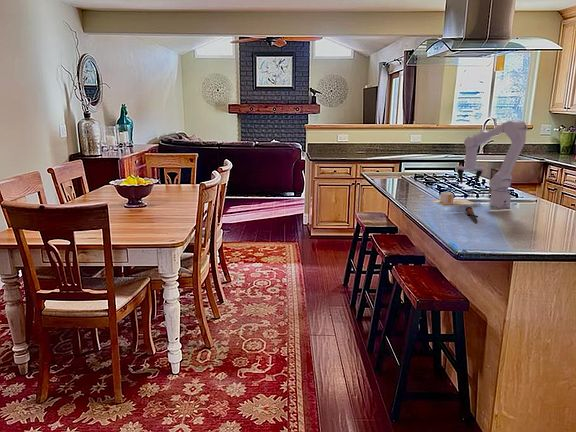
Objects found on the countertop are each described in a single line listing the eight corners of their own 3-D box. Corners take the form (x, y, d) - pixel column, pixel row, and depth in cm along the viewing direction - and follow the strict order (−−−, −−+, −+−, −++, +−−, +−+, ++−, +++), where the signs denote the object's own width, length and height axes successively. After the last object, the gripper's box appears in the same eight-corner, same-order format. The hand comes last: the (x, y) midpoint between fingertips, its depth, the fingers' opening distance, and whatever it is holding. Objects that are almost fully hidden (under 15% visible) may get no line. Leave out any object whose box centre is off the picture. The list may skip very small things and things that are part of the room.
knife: (484, 223, 196) (472, 220, 197) (481, 229, 197) (470, 227, 198) (475, 207, 220) (464, 205, 221) (473, 213, 221) (462, 211, 222)
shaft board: (478, 206, 235) (479, 197, 234) (443, 207, 231) (444, 199, 230) (461, 200, 250) (462, 192, 249) (428, 201, 246) (429, 193, 245)
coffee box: (487, 195, 265) (490, 168, 262) (498, 195, 265) (501, 168, 261) (494, 198, 256) (497, 170, 253) (505, 198, 256) (508, 170, 253)
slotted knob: (440, 201, 242) (440, 192, 241) (447, 201, 243) (448, 192, 242) (445, 203, 236) (446, 194, 235) (453, 203, 237) (454, 193, 236)
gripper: (455, 159, 244) (453, 184, 247) (484, 160, 236) (481, 186, 240) (457, 158, 250) (455, 182, 253) (486, 159, 242) (483, 184, 245)
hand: (468, 184), depth 246 cm, fingers open, 7 cm apart
